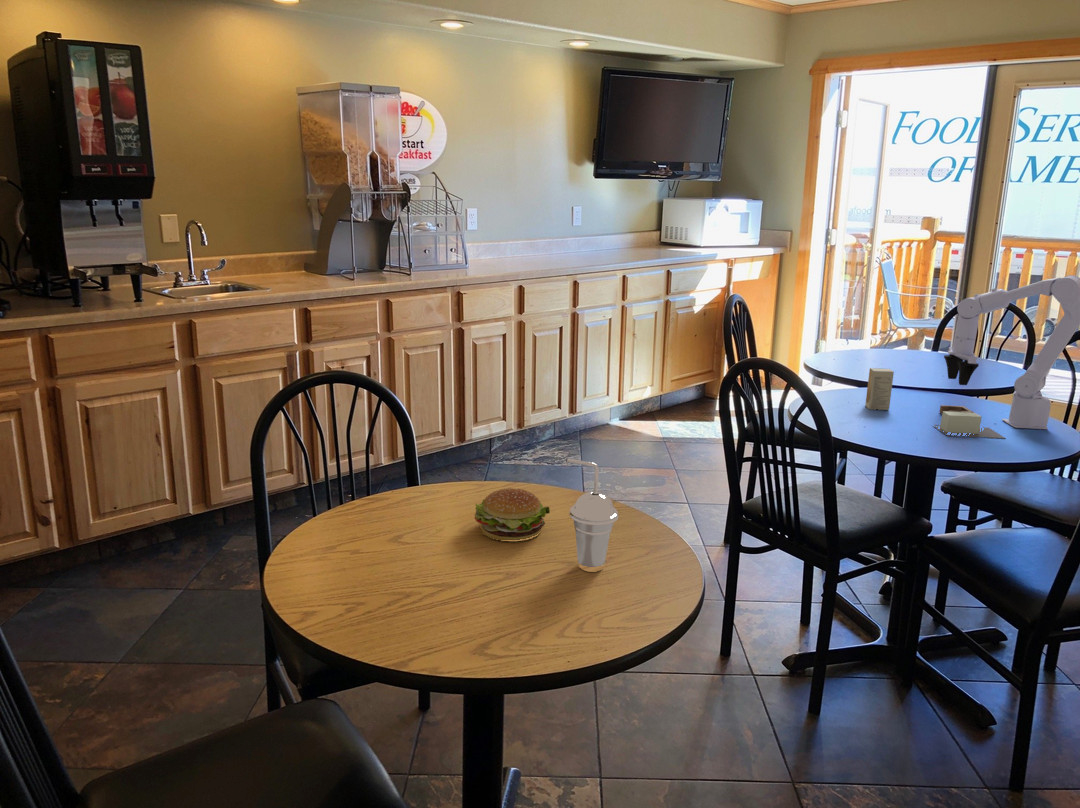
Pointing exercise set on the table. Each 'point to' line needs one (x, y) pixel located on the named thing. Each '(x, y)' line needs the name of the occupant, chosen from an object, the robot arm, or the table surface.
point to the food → (511, 514)
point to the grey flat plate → (985, 433)
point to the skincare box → (879, 388)
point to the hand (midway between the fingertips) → (957, 381)
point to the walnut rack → (954, 409)
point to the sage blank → (960, 422)
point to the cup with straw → (592, 522)
